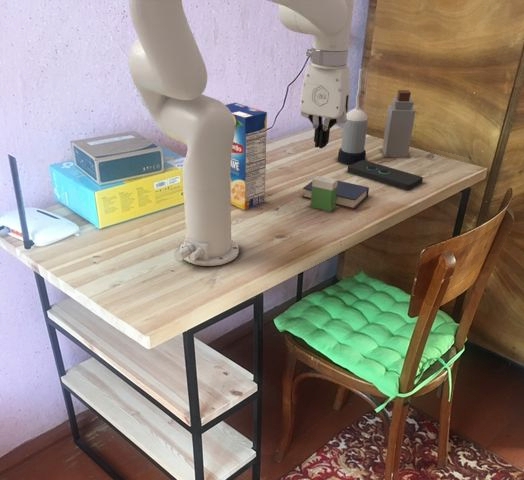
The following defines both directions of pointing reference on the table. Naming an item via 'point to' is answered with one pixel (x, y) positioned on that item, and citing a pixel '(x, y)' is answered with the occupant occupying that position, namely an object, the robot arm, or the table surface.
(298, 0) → the robot arm
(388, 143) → the perfume bottle
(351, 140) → the humidifier
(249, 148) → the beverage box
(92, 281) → the table surface
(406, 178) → the smart home device
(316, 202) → the green and white eraser
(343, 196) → the book
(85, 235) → the table surface
